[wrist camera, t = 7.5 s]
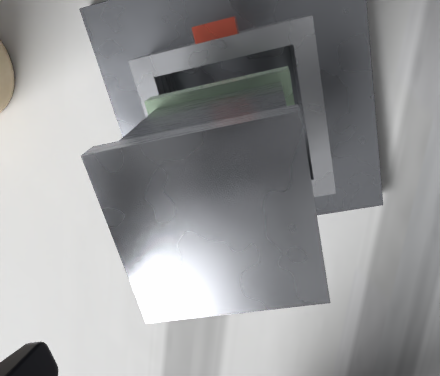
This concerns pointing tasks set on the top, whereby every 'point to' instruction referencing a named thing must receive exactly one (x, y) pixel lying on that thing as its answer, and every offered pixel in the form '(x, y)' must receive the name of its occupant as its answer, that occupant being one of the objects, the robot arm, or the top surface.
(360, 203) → the stand base
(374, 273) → the top surface
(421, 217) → the top surface
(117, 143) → the column
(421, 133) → the top surface
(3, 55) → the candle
